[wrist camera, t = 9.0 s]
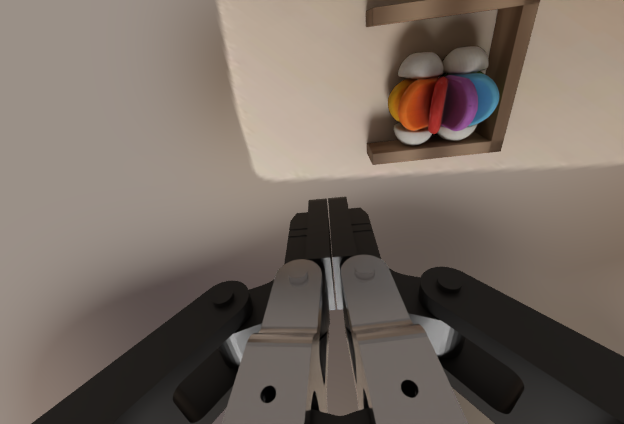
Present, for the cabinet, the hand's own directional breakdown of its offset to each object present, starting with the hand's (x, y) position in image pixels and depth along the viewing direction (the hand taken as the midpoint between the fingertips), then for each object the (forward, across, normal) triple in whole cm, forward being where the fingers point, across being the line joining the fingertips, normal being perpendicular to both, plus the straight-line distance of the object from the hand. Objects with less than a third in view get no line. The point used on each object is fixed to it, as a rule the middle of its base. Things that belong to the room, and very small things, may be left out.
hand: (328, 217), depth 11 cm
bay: (+22, -11, -1) cm, 24 cm away
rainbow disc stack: (+22, -12, 0) cm, 25 cm away
